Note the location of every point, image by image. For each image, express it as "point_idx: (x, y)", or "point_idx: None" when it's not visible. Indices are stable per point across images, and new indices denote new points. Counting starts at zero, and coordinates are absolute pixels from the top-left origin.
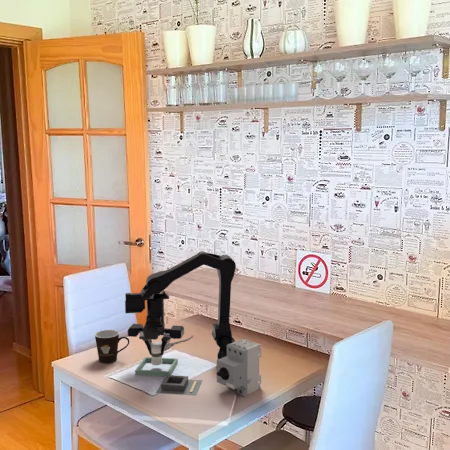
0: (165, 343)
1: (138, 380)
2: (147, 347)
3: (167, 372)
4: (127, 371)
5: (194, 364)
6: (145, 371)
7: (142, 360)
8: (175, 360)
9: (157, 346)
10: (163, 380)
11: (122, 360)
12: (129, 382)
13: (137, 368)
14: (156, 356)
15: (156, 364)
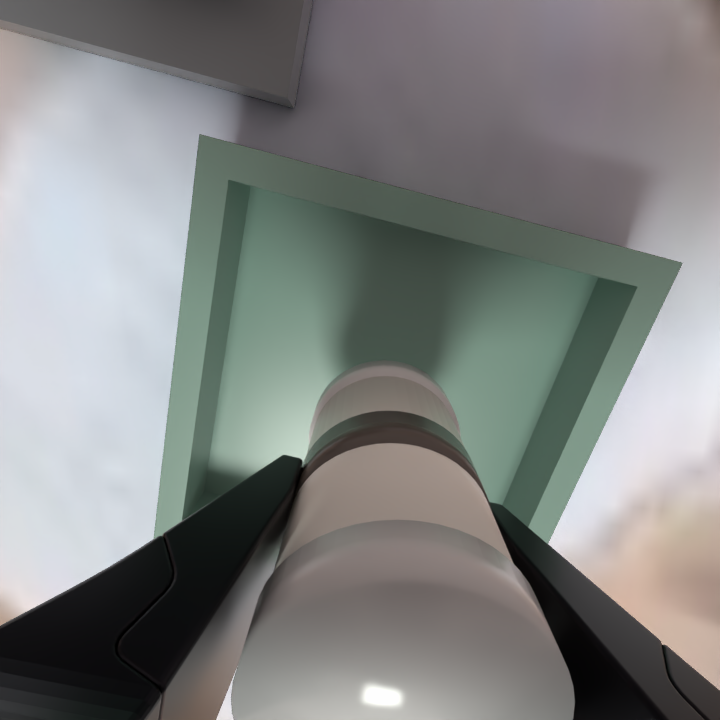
0: (17, 631)
1: (597, 165)
2: (629, 616)
3: (232, 143)
4: (681, 417)
5: (32, 493)
6: (539, 226)
7: (547, 540)
8: (170, 499)
9: (365, 564)
10: (294, 15)
11: (684, 639)
12: (712, 115)
13: (638, 325)
14: (391, 418)
15: (389, 362)
